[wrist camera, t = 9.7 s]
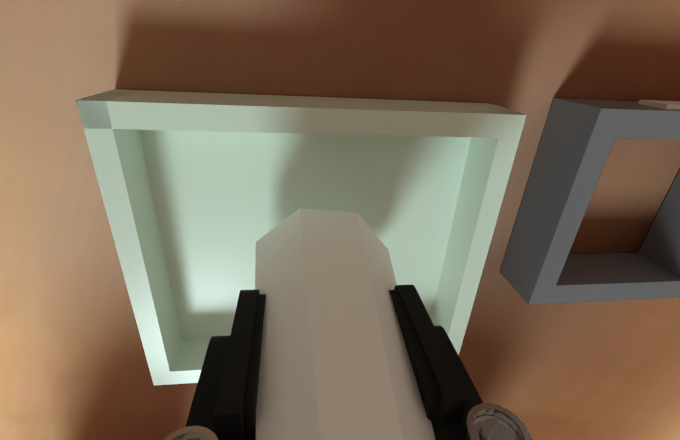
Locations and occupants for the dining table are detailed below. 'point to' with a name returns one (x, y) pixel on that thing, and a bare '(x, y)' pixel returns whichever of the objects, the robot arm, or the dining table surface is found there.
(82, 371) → the dining table surface
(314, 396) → the pepper shaker
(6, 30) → the dining table surface
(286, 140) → the tray
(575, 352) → the dining table surface
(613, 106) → the holder
